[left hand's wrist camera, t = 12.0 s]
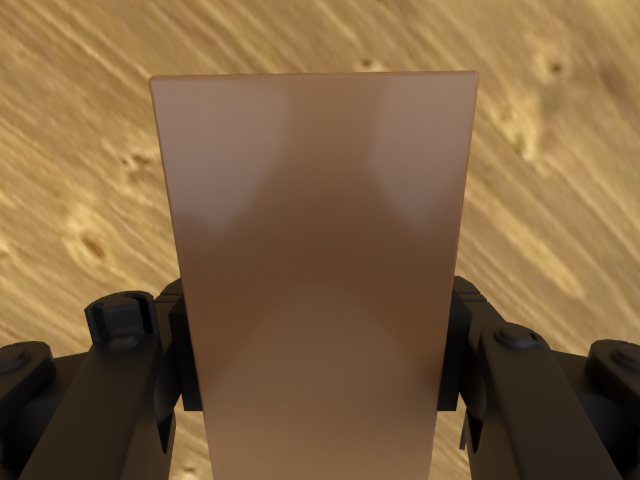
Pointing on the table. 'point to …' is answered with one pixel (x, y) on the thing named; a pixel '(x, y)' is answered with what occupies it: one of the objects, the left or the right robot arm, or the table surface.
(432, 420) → the post
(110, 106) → the table surface
